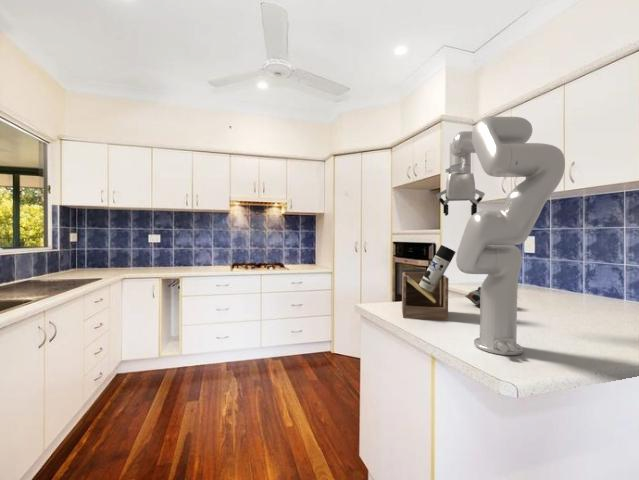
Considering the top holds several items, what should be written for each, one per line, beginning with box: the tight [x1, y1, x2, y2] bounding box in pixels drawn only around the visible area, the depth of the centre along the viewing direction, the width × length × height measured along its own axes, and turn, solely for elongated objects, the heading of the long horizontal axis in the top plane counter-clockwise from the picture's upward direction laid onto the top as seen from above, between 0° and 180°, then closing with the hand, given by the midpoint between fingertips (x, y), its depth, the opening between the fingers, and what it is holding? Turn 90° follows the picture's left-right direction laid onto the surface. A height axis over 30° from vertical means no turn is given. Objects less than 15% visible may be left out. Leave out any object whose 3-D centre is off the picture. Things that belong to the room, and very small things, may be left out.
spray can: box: [419, 244, 457, 293], centre depth 128 cm, size 7×7×20 cm
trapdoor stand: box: [401, 271, 449, 322], centre depth 129 cm, size 17×17×17 cm
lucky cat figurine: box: [464, 286, 481, 307], centre depth 145 cm, size 15×12×14 cm
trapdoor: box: [406, 275, 436, 303], centre depth 130 cm, size 14×14×1 cm
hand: (459, 215), depth 116 cm, fingers open, 9 cm apart
